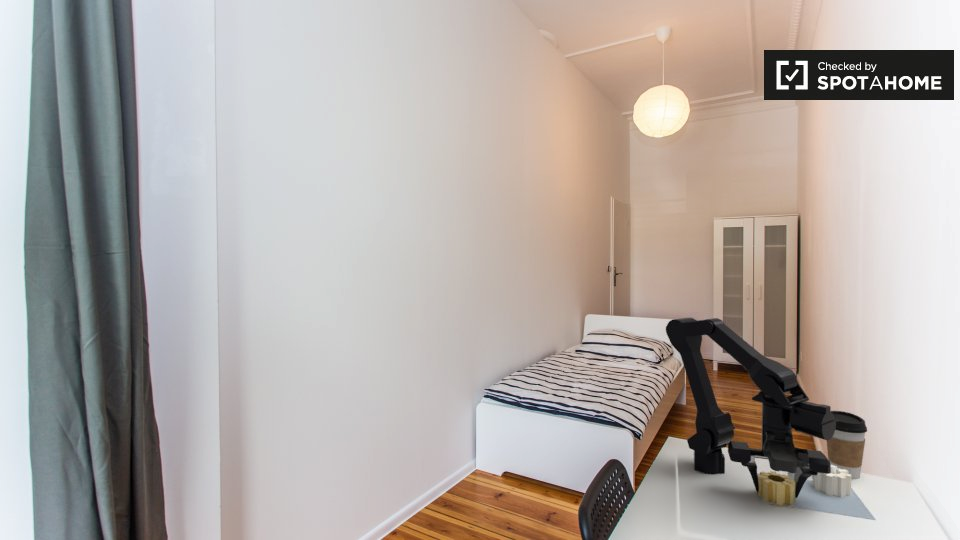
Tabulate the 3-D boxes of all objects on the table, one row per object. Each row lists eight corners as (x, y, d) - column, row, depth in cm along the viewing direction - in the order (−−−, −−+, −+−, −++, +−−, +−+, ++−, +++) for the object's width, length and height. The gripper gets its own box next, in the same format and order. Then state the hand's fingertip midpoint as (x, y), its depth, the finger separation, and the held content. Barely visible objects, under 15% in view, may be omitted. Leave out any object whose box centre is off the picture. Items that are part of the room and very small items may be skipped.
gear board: (763, 506, 104) (763, 477, 104) (751, 475, 118) (752, 450, 118) (876, 523, 97) (876, 493, 97) (849, 489, 111) (850, 462, 111)
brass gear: (760, 502, 104) (761, 483, 104) (755, 487, 111) (755, 469, 111) (798, 508, 102) (798, 488, 102) (790, 493, 108) (790, 473, 108)
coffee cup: (851, 469, 121) (852, 410, 121) (875, 485, 113) (876, 422, 112) (815, 468, 122) (816, 410, 121) (837, 484, 114) (838, 421, 113)
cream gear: (827, 497, 106) (828, 478, 106) (805, 482, 113) (805, 464, 113) (858, 497, 106) (859, 477, 106) (834, 481, 113) (835, 463, 113)
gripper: (734, 432, 102) (733, 504, 102) (840, 444, 95) (838, 521, 95) (727, 415, 112) (727, 481, 113) (822, 425, 105) (821, 494, 106)
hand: (776, 494), depth 106 cm, fingers closed on brass gear, 7 cm apart
